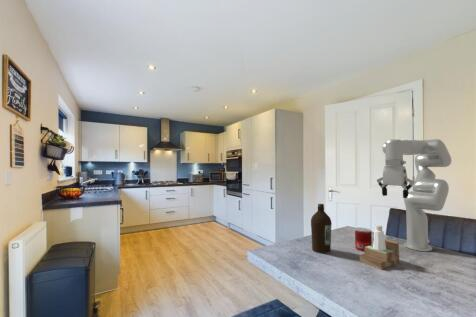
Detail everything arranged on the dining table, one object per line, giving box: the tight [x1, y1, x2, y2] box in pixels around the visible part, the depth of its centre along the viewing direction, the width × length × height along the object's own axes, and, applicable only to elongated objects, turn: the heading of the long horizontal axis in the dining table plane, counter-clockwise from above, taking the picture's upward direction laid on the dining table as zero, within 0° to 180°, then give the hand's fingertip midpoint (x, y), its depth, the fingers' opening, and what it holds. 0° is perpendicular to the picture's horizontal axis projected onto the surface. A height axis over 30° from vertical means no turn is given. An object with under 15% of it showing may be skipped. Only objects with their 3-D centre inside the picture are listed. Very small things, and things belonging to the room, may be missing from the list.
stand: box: [359, 237, 400, 271], centre depth 108 cm, size 15×11×10 cm
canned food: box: [354, 227, 373, 253], centre depth 125 cm, size 8×8×11 cm
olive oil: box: [310, 203, 333, 254], centre depth 124 cm, size 11×11×25 cm
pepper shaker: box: [372, 224, 386, 251], centre depth 109 cm, size 5×5×11 cm
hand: (394, 196), depth 117 cm, fingers open, 9 cm apart
